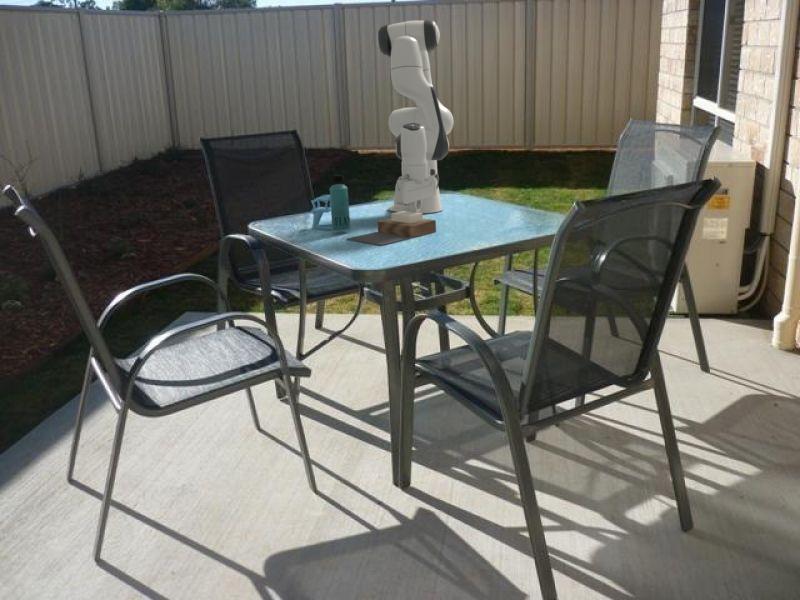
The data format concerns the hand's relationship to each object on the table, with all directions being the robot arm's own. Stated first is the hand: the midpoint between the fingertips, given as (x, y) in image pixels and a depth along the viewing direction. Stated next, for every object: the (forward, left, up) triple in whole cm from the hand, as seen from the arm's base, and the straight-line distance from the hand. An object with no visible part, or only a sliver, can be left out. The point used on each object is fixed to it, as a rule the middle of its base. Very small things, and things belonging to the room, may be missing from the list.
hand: (416, 213), depth 282 cm
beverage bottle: (-19, -18, -6) cm, 27 cm away
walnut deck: (0, -5, -6) cm, 8 cm away
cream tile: (0, -5, -2) cm, 5 cm away
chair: (-31, -16, -6) cm, 35 cm away
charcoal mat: (0, -18, -6) cm, 19 cm away
